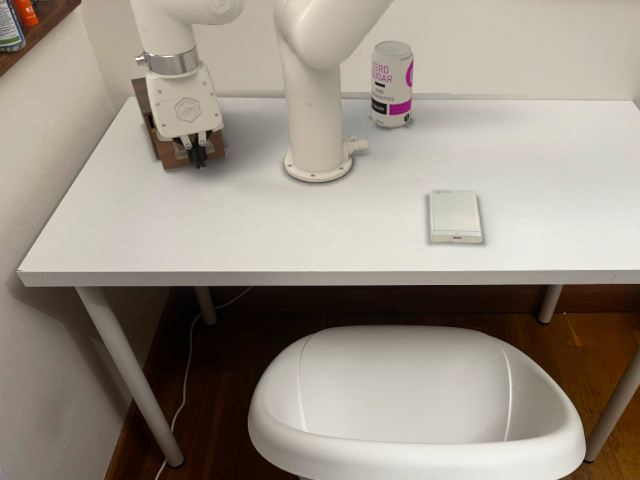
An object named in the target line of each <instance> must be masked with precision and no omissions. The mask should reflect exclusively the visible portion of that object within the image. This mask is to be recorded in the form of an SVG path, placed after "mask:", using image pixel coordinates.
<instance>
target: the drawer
mask: <svg viewBox="0 0 640 480" xmlns="http://www.w3.org/2000/svg"><path fill="white" fill-rule="evenodd" d="M150 118H151V121H152V125H153V129H152V132H153V136H154V139H155V142H156V146H157V149H158V152H159V156H160V159H159V160H160V161H161V165H162V168H163V170H164V171H168V170H173V169H178V168H182V167H187V166H191V165H195V164H194V163H190V162H189V159H188V155H187V151H186V148H185V147H184V146H182V145H180V144H179V143H177V142H175V141H160V140H159V139H158V137H157V126H156V123H155V120H154V117H153V115H151V116H150ZM188 137H189V138H190V139H191V140H192V141H194V138H195V137H196V136H195V133H194V134H189V135H188ZM193 143H194V142H193ZM224 143H225V142H224V139H223V133H222V128H221V129H219V130H217V131H215V132H212V134H211V135H210V137H209V138H208V139H207V141H206V145H205V149H206V153H207V157H208V159H207V160H205V162H210V161H215V160H218V159H222V158H223V159H224V158H227V153H226V148H225V144H224Z"/></svg>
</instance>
